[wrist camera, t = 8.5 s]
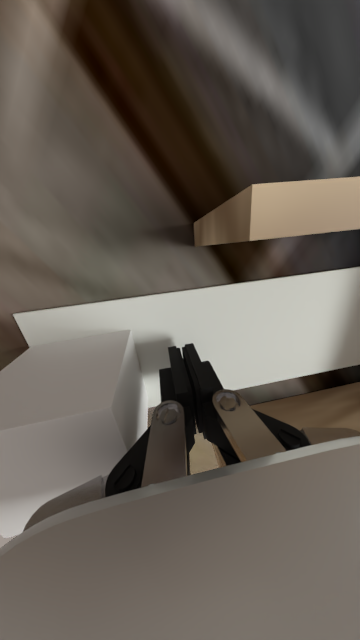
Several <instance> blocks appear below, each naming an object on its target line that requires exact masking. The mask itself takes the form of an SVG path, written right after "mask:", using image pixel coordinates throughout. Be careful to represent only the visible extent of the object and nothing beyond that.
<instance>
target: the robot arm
mask: <svg viewBox="0 0 360 640" xmlns="http://www.w3.org/2000/svg"><path fill="white" fill-rule="evenodd" d="M168 352H169V359H170V366H171V367H170V368H164V369H159V379H160V394H161V403H160V404H159V405H158V406H157V407H156V408H155V410H154V412H153V415H152V422H151V425H150V427H149V428H148V429H147V430H146V431H145V432H144V433H143V435H142V436H141V437H140V438H139V439H138V440H137V441H136V443H135V444H134V445H133V446H132V447H131V448H130V449H129V451H128V452H127V453H126V454H125V455H124V456H123V457H122V459H121V460H120V461H119V462H118V463H117V464H116V465H115V467H114V468H113V469H112V471H111V472H110V474H108V475H106V476H104V477H102V475H100V476H98V477H96V478H94V479H92V480H90V481H88V482H86V483H84V484H82V485H80V486H78V487H76V488H74V489H72V490H70V491H68V492H66V493H64V494H62V495H60V496H58V497H56V498H54V499H52V500H49V501H48V502H46V503H45V504H43V505H42V506H41V507H40V508H39V509H38V510H37V511H36V512H35V513H34V514H33V515H32V516H31V518H30V519H29V521H28V522H27V524H26V525H25V528H24V530H23V532H22V533H21V534H19V535H18V536H16V537H15V538H14V539H12V540H11V541H9V542H8V543H7V544H5V545H4V546H3V547H1V548H0V640H360V432H358V431H356V430H353V429H349V428H313V427H302V429H301V430H298V429H297V428H295V427H293V426H291V425H289V424H287V423H284V422H282V421H280V420H277V419H275V418H273V417H270V416H268V415H266V414H263V413H261V412H259V411H256V410H254V409H252V408H251V407H250V406H249V405H248V404H247V403H246V401H245V400H244V399H243V398H242V397H241V396H240V395H239V394H238V393H237V392H235V391H233V390H229V389H224V388H223V386H222V384H221V382H220V380H219V379H218V377H217V375H216V373H215V371H214V369H213V367H212V365H211V363H210V362H209V361H203V362H201V360H200V357H199V355H198V353H197V351H196V349H195V346H194V344H193V343H190V344H185V347H182V354H183V358H182V354H181V351H180V348H176V346H172V347H168ZM195 420H196V424H197V427H198V431H199V433H202V432H203V436H204V439H207V440H208V441H210V442H211V443H213V444H214V447H215V450H216V452H217V454H218V456H219V458H220V460H221V463H222V465H223V467H221V468H217V469H213V470H209V471H205V472H201V473H197V474H193V475H191V473H190V455H189V452H190V450H191V449H192V447H193V445H194V444H195V439H194V434H196V426H195Z"/></svg>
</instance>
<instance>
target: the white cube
mask: <svg viewBox="0 0 360 640" xmlns="http://www.w3.org/2000/svg"><path fill="white" fill-rule="evenodd" d="M147 422H148V396H147V392H146V388H145V384H144V380H143V376H142V372H141V368H140V364H139V360H138V356H137V352H136V348H135V344H134V340H133V336H132V332H131V330H126V331H120V332H114V333H108V334H102V335H96V336H90V337H84V338H78V339H72V340H66V341H60V342H54V343H48V344H42V345H36V346H31V347H30V348H29V349H28V350H26V351H25V352H24V353H23V354H21V355H20V356H19V357H18V358H16V359H15V360H14V361H13V362H11V363H10V364H9V365H8V366H6V367H5V368H4V369H2V370H1V371H0V535H1V536H2V537H4V538H9V537H12V536H16V535H19V534H21V533H22V532H23V530H24V528H25V525H26V524H27V522H28V521H29V519H30V518H31V516H32V515H33V514H34V513H35V512H36V511H37V510H38V509H39V508H40V507H41V506H42V505H43V504H45V503H46V502H48V501H49V500H52V499H54V498H56V497H58V496H60V495H62V494H64V493H66V492H68V491H70V490H72V489H74V488H76V487H78V486H80V485H82V484H84V483H86V482H88V481H90V480H92V479H94V478H96V477H98V476H100V475H102V477H104V476H106V475H108V474H110V472H111V471H112V469H113V468H114V467H115V465H116V464H117V463H118V462H119V461H120V460H121V459H122V457H123V456H124V455H125V454H126V453H127V452H128V451H129V449H130V448H131V447H132V446H133V445H134V444H135V443H136V441H137V440H138V439H139V438H140V437H141V436H142V435H143V433H144V432H145V431H146V430H147Z"/></svg>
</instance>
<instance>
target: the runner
mask: <svg viewBox="0 0 360 640" xmlns="http://www.w3.org/2000/svg"><path fill="white" fill-rule="evenodd" d="M13 316H14V318H15V320H16V322H17V324H18V326H19V328H20V330H21V332H22V334H23V336H24V338H25V339H26V341H27V343H28V345H29V347H31V346H36V345H42V344H48V343H54V342H60V341H66V340H72V339H78V338H84V337H90V336H96V335H102V334H108V333H114V332H120V331H126V330H131V332H132V336H133V340H134V344H135V348H136V352H137V356H138V360H139V364H140V368H141V372H142V376H143V380H144V384H145V388H146V392H147V396H148V408H150V407H154V406H158V405H159V404H160V403H161V394H160V379H159V369H164V368H170V367H171V366H170V359H169V352H168V347H172V346H176V348H180V351H181V354H182V347H185V344H190V343H193V344H194V346H195V349H196V351H197V353H198V355H199V357H200V360H201V362H203V361H209V362H210V363H211V365H212V367H213V369H214V371H215V373H216V375H217V377H218V379H219V380H220V382H221V384H222V386H223V388H224V389H229V390H237V389H242V388H247V387H252V386H257V385H262V384H267V383H272V382H276V381H281V380H286V379H291V378H296V377H301V376H306V375H311V374H315V373H320V372H325V371H330V370H335V369H340V368H345V367H350V366H354V365H359V364H360V266H359V267H352V268H345V269H337V270H330V271H323V272H315V273H308V274H301V275H293V276H286V277H278V278H271V279H264V280H256V281H249V282H242V283H234V284H227V285H220V286H212V287H205V288H197V289H190V290H183V291H175V292H168V293H161V294H153V295H146V296H139V297H131V298H124V299H116V300H109V301H102V302H94V303H87V304H80V305H72V306H65V307H58V308H50V309H43V310H35V311H28V312H21V313H15V314H13ZM182 358H183V354H182Z"/></svg>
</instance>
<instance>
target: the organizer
mask: <svg viewBox="0 0 360 640" xmlns="http://www.w3.org/2000/svg"><path fill="white" fill-rule="evenodd" d="M354 229H360V177H348V178H334V179H320V180H306V181H292V182H279V183H265V184H252V185H251V186H249V187H248V188H246V189H245V190H243V191H242V192H240V193H239V194H237V195H236V196H234V197H233V198H231V199H229V200H228V201H226V202H225V203H223V204H222V205H220V206H219V207H217V208H216V209H214V210H213V211H211V212H210V213H208V214H207V215H205V216H204V217H202V218H201V219H199V220H198V221H196V222H195V223H194V238H195V247H196V246H205V245H215V244H225V243H234V242H244V241H254V240H263V239H272V238H281V237H290V236H299V235H309V234H318V233H327V232H336V231H345V230H354ZM250 407H251V408H252V409H254V410H256V411H259V412H261V413H263V414H266V415H268V416H270V417H273V418H275V419H277V420H280V421H282V422H284V423H287V424H289V425H291V426H293V427H295V428H297V429H298V430H301V429H302V427H313V428H349V429H353V430H356V431H358V432H360V382H357V383H353V384H348V385H343V386H339V387H334V388H330V389H325V390H320V391H316V392H311V393H307V394H302V395H297V396H293V397H288V398H284V399H279V400H274V401H270V402H265V403H261V404H256V405H251V406H250ZM212 446H213V449H214V452H215V455H216V458H217V461H218V465H219V468H221V467H223V465H222V463H221V460H220V458H219V456H218V454H217V452H216V450H215V447H214V444H213V443H212Z"/></svg>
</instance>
